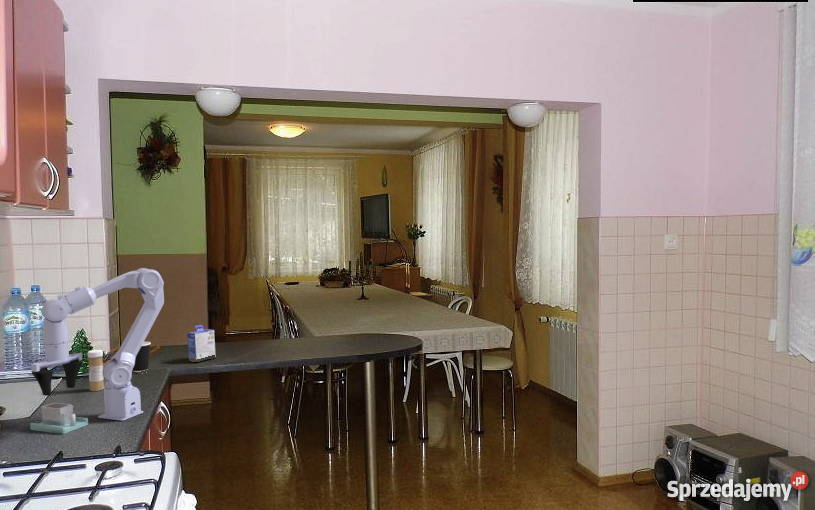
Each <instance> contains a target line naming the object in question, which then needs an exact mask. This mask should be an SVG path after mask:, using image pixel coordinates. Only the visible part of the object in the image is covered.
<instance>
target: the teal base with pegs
mask: <svg viewBox="0 0 815 510" xmlns="http://www.w3.org/2000/svg"><path fill="white" fill-rule="evenodd" d="M70 420H71V424H68V425H65V426H62V427H61V426H53V425H46V424H42V421H40V422H38V423H36V422H30V425H29V426H30V430H32V431H37V432H44V433H51V434H52V433H53V434H60V435H64V434H67V433H70V432H72V431H75V430H77V429H80V428H82V427H86V426H88V425H89V419H88V417H82V416H81V417H79V416H76V413H73V414H71V415H70Z"/></svg>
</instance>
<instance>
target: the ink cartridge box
mask: <svg viewBox="0 0 815 510" xmlns="http://www.w3.org/2000/svg"><path fill="white" fill-rule="evenodd" d="M194 328H195V331H191V332H188V333H186V335H187V349H188V350H187V352H188V360H189V359H196V360H197V359H201V358H205V357H208V356H212V355H215V356H216V342H215V329H209V328H206V329H204V327H203V325H202V324H198V325H194Z"/></svg>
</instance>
